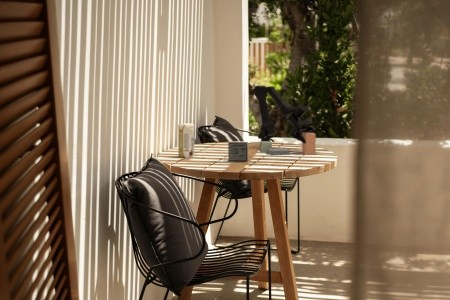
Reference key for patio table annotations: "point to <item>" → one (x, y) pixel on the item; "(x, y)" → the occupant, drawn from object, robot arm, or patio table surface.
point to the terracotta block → (308, 143)
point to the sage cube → (264, 146)
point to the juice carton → (186, 140)
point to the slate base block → (278, 151)
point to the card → (297, 150)
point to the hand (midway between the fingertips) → (310, 142)
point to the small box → (237, 151)
